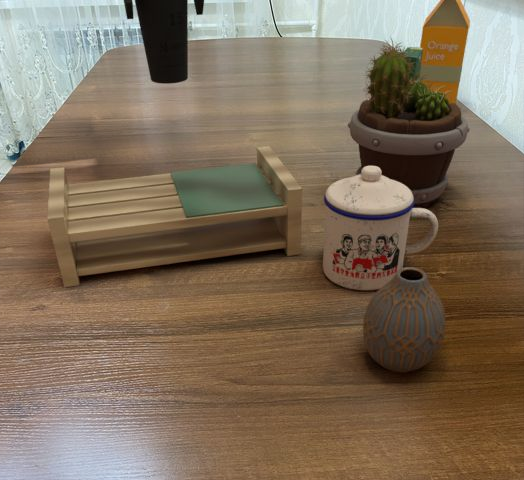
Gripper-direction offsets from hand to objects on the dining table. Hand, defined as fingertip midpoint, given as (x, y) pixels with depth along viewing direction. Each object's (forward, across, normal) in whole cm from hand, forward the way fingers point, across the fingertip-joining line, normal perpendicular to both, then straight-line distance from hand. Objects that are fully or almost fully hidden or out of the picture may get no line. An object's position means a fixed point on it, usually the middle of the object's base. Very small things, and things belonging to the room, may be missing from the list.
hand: (165, 8), depth 72 cm
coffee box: (+7, +39, +25) cm, 47 cm away
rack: (+27, -3, +5) cm, 27 cm away
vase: (+47, +12, -15) cm, 51 cm away
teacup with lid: (+36, +17, -4) cm, 40 cm away
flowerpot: (+24, +28, +8) cm, 38 cm away
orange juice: (-1, +51, +33) cm, 61 cm away
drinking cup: (+4, 0, +9) cm, 9 cm away
